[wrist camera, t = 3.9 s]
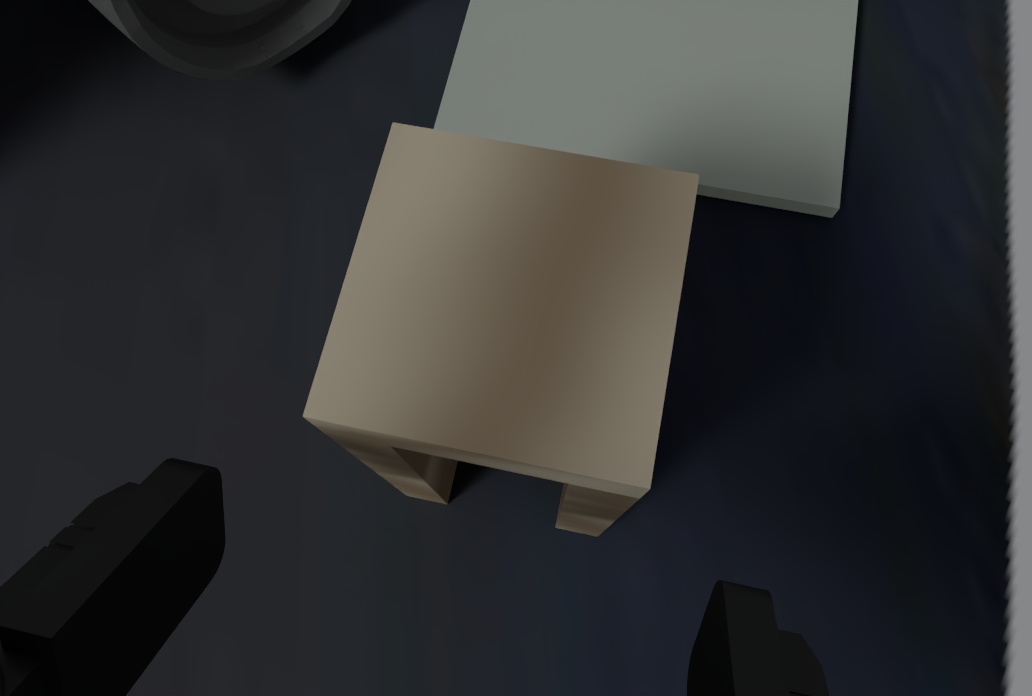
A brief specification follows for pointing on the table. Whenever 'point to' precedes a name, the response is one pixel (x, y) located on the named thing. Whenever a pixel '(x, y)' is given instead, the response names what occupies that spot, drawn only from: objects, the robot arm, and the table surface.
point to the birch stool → (508, 320)
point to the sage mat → (668, 88)
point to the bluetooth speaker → (221, 31)
